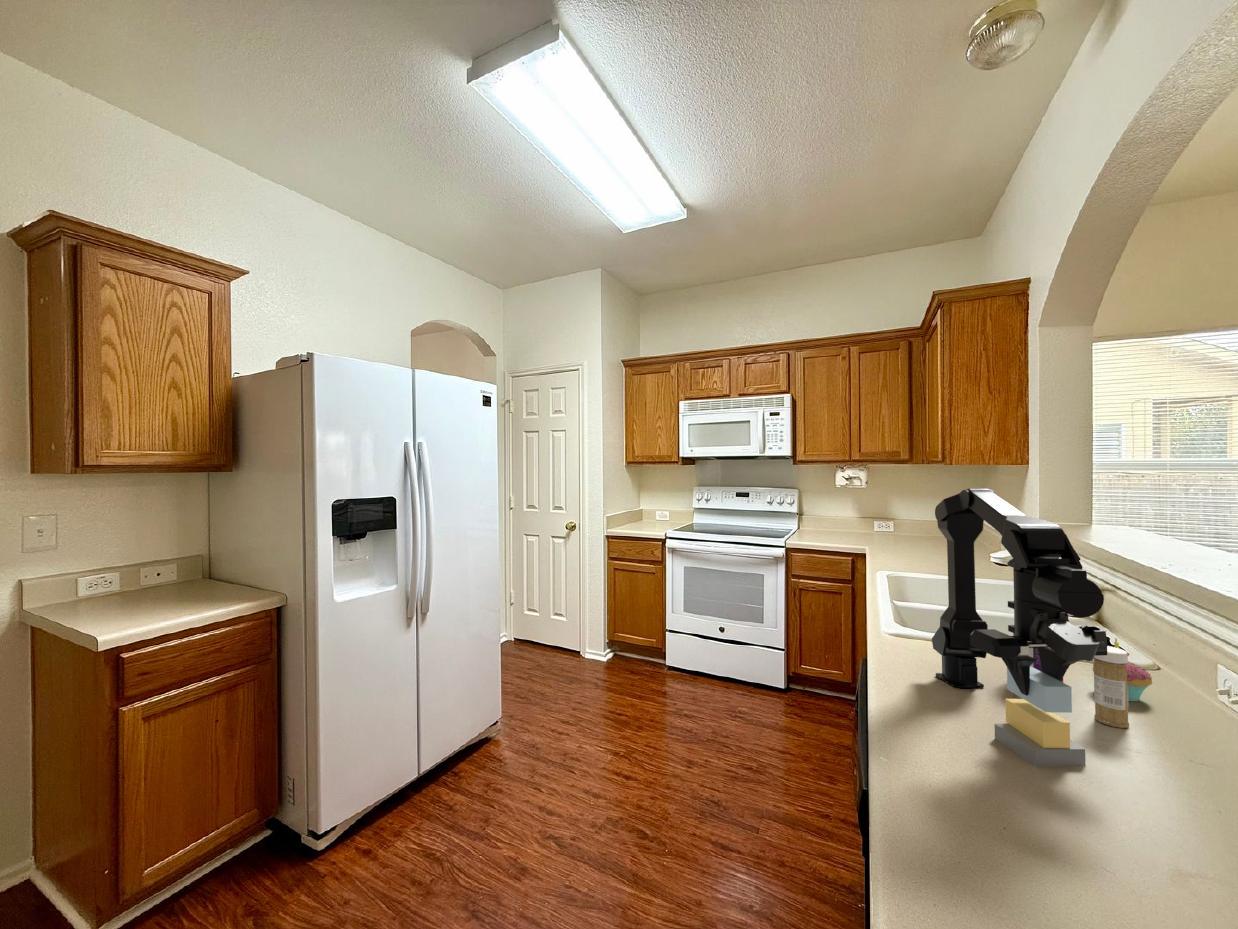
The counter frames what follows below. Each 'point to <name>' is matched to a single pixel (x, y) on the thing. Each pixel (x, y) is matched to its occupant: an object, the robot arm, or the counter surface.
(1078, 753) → the base slab
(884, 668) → the counter surface
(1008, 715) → the ochre brick
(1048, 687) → the blue brick
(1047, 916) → the counter surface
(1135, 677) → the cupcake
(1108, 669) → the sprinkles bottle
